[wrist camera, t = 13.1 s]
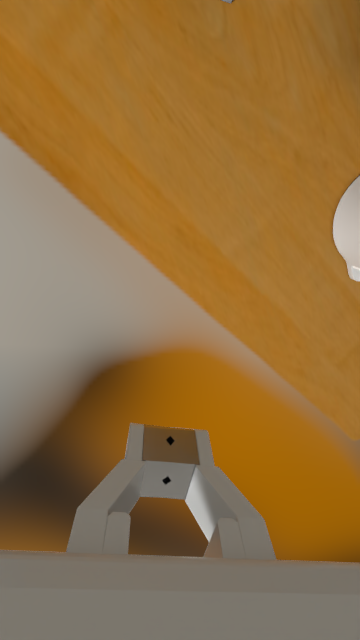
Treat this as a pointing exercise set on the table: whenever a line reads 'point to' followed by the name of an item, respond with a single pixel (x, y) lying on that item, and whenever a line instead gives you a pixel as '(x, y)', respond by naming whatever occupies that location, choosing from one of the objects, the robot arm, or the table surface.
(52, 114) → the table surface
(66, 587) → the robot arm
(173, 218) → the table surface
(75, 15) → the table surface
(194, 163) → the table surface
